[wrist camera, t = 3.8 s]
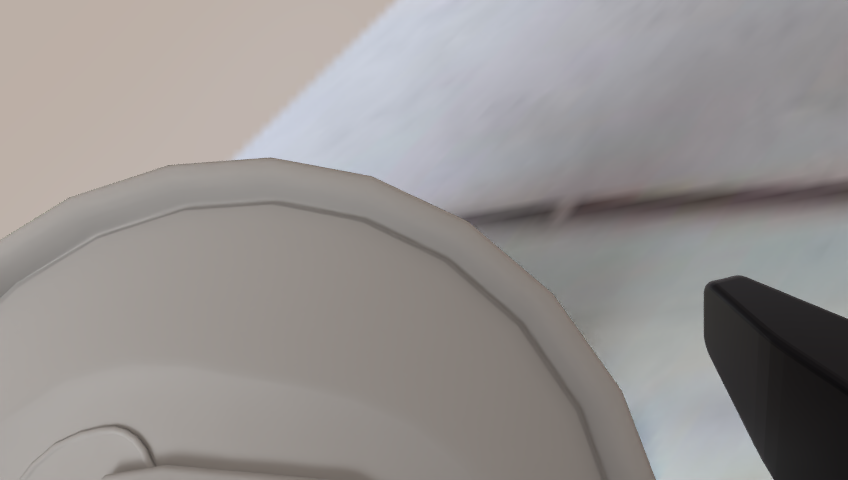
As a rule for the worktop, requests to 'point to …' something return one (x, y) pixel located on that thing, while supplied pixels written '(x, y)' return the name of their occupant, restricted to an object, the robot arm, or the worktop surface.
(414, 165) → the worktop surface
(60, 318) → the beverage can
